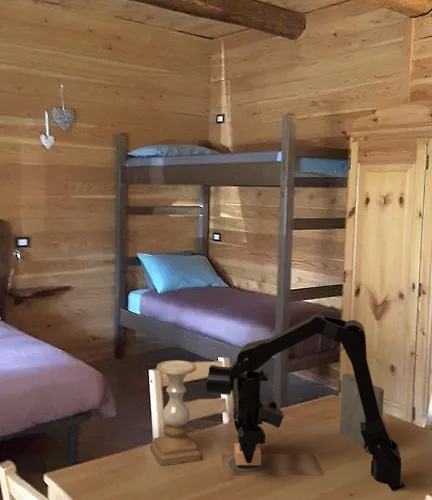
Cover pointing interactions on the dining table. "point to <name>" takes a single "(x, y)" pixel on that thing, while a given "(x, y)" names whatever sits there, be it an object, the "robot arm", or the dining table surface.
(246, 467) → the post board
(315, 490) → the dining table surface
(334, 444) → the dining table surface
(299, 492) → the dining table surface
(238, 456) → the collar
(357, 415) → the hip flask
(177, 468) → the dining table surface
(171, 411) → the candle holder
